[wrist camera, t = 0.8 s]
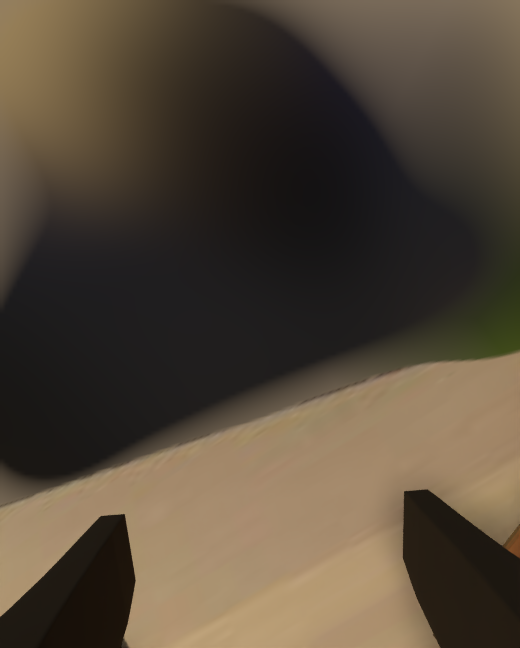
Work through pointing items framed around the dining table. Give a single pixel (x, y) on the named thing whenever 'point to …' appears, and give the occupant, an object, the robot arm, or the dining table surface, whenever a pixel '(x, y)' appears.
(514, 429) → the dining table surface
